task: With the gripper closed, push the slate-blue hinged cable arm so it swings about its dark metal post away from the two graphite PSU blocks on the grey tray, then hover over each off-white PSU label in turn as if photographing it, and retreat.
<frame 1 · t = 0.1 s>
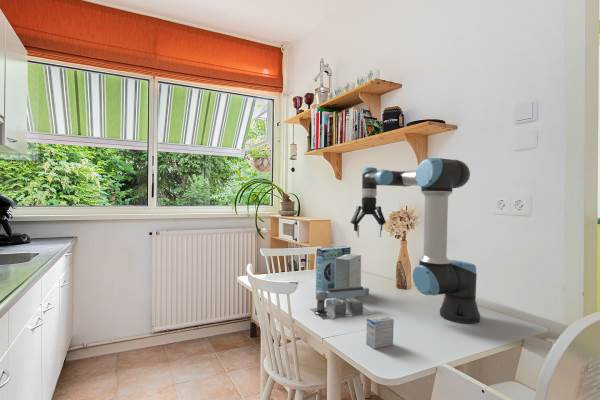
hand: (368, 237, 186), 28 cm above the table, fingers open, 13 cm apart
psu block B: (335, 311, 147), resting on server tray
hard drive box: (347, 297, 171), on the table
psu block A: (352, 310, 149), resting on server tray
blue printed carton: (332, 292, 180), on the table
medicine box: (379, 345, 115), on the table
server tray: (342, 312, 148), on the table
cable arm: (343, 292, 148), point 8 cm above the table, hinge at 0.0°
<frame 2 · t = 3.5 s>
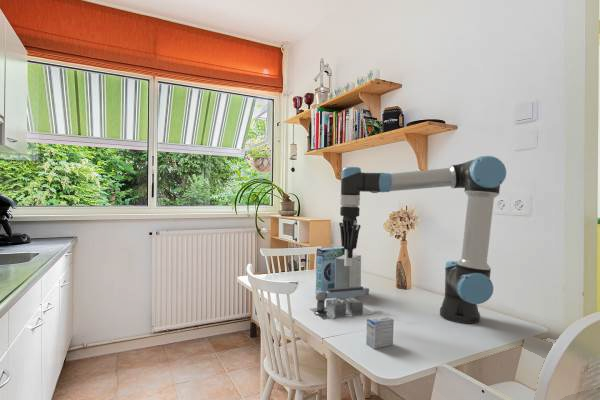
hand: (348, 265, 139), 21 cm above the table, fingers closed
nothing on the table moved.
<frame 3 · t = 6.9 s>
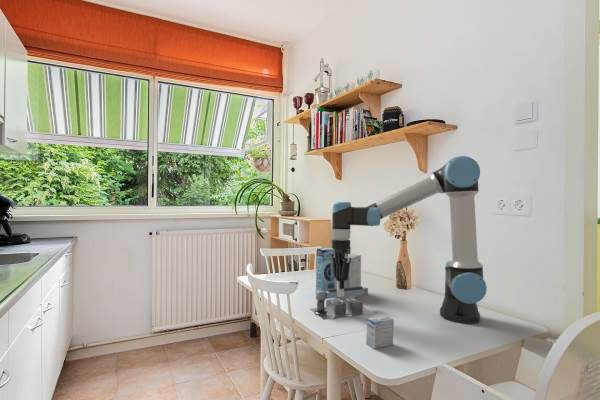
hand: (340, 296, 145), 7 cm above the table, fingers closed
cable arm: (342, 292, 148), point 8 cm above the table, hinge at 2.0°, touching gripper
everything else where it was.
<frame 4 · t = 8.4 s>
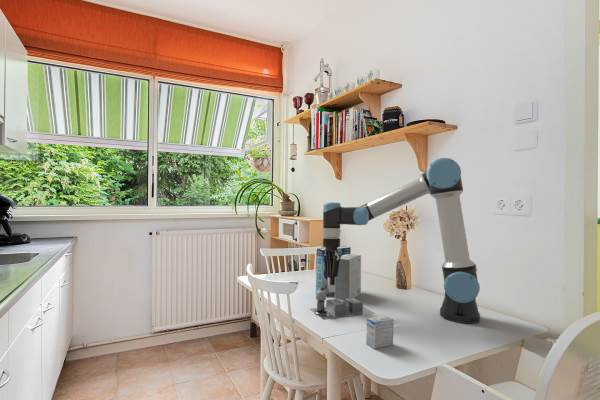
hand: (331, 291, 153), 7 cm above the table, fingers closed
cable arm: (324, 288, 154), point 8 cm above the table, hinge at 56.8°, touching gripper
everything else where it was.
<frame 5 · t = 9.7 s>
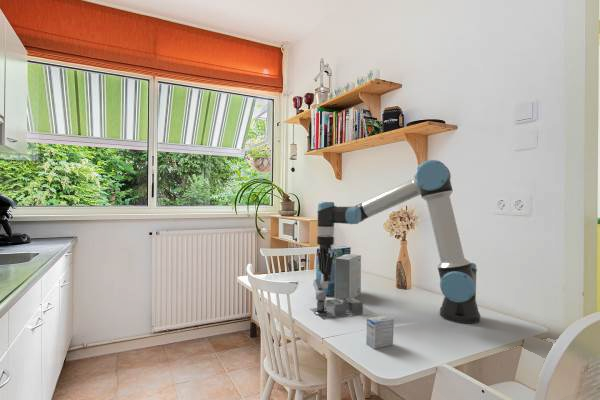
hand: (324, 287, 159), 7 cm above the table, fingers closed
cable arm: (318, 288, 154), point 8 cm above the table, hinge at 70.1°, touching gripper
everything else where it was.
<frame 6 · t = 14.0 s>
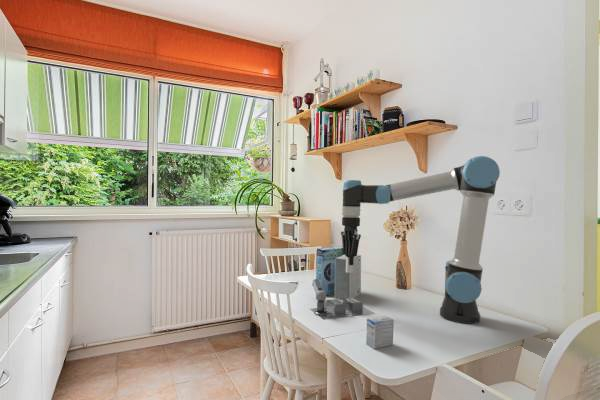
hand: (349, 272, 149), 17 cm above the table, fingers closed
cable arm: (318, 288, 154), point 8 cm above the table, hinge at 71.4°
everything else where it was.
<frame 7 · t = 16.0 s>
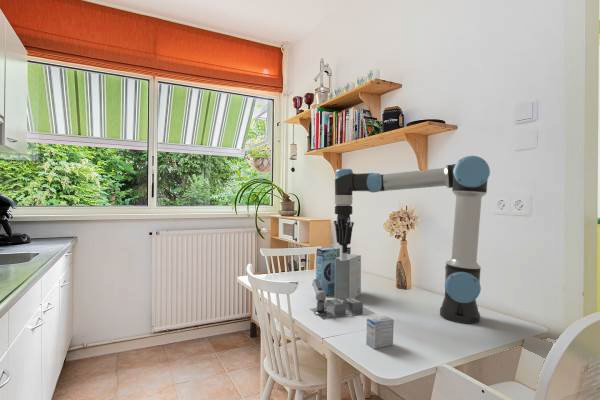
hand: (343, 260, 151), 21 cm above the table, fingers closed
nothing on the table moved.
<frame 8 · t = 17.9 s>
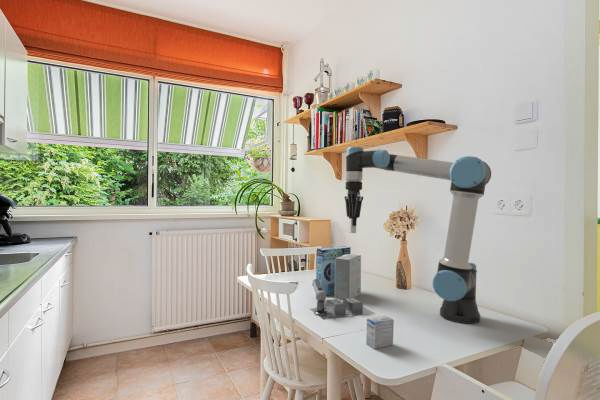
hand: (352, 232, 161), 32 cm above the table, fingers closed
nothing on the table moved.
at the end: cable arm at +71° (first picture: +0°) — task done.
